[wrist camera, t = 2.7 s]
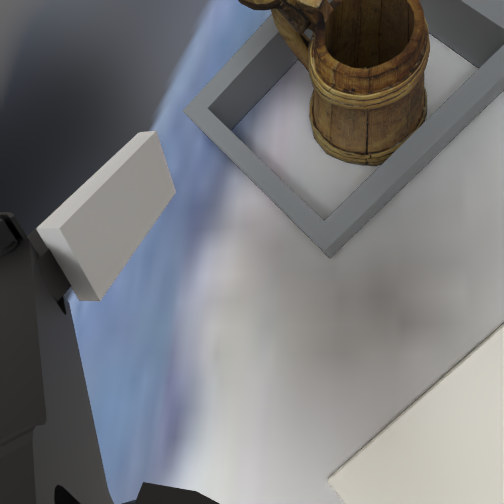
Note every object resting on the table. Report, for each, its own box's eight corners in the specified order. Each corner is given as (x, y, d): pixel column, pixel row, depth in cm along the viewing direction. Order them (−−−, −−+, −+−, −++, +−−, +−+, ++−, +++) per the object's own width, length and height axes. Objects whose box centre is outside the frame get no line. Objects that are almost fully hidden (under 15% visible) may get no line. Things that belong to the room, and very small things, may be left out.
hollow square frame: (365, -35, 34) (366, -89, 30) (521, 73, 30) (551, 30, 25) (206, 135, 37) (182, 111, 32) (329, 258, 32) (323, 251, 28)
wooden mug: (303, 28, 35) (245, -228, 18) (448, 88, 32) (550, -166, 14) (250, 116, 36) (146, -54, 19) (388, 185, 32) (416, 52, 15)
